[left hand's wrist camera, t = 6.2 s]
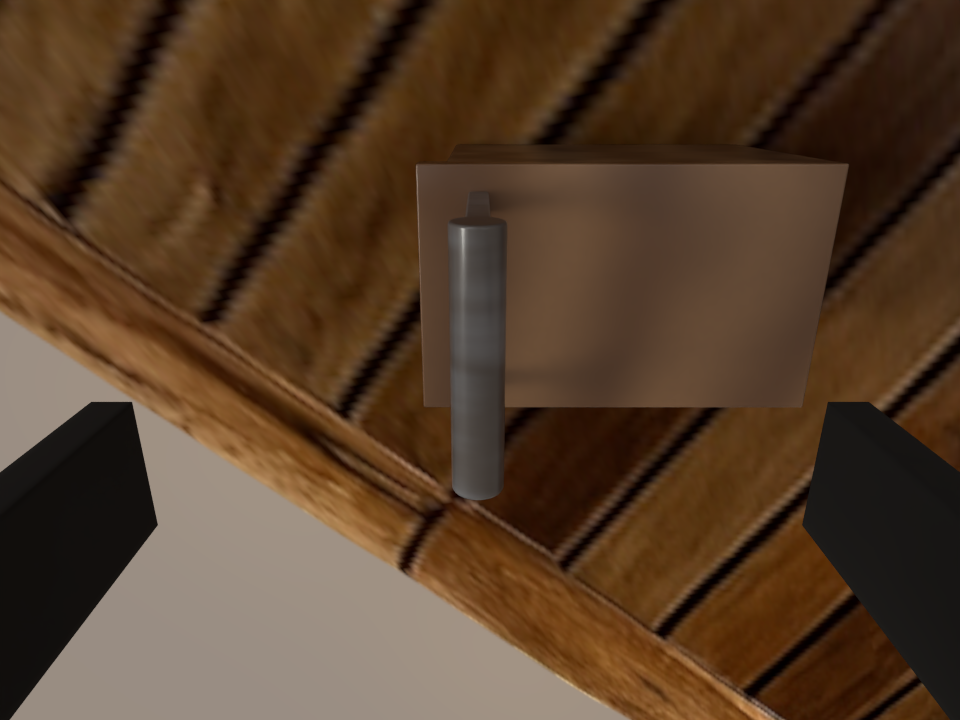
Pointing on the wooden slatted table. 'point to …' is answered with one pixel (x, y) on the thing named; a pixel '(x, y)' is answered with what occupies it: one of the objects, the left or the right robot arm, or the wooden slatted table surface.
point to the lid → (616, 289)
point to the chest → (621, 153)
